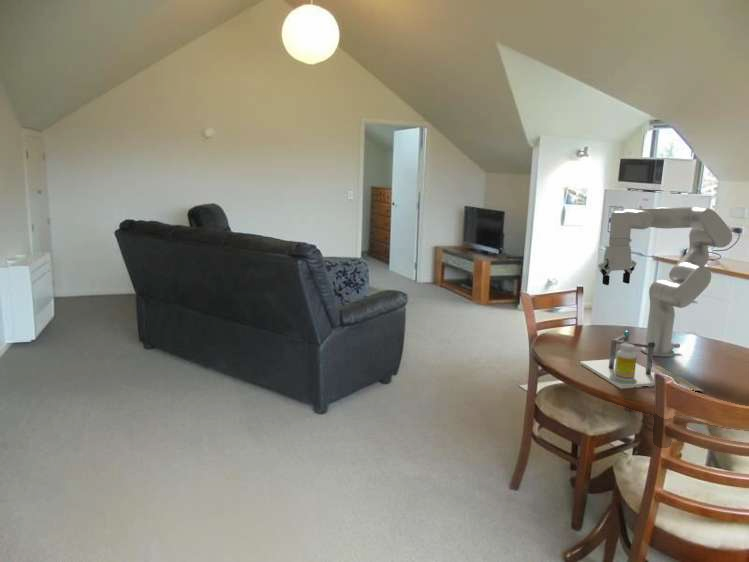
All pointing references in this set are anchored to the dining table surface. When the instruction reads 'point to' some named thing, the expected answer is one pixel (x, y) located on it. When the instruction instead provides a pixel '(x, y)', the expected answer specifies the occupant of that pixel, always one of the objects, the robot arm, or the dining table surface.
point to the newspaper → (675, 378)
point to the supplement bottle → (625, 362)
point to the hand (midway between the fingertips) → (615, 283)
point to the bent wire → (626, 338)
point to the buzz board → (608, 374)
